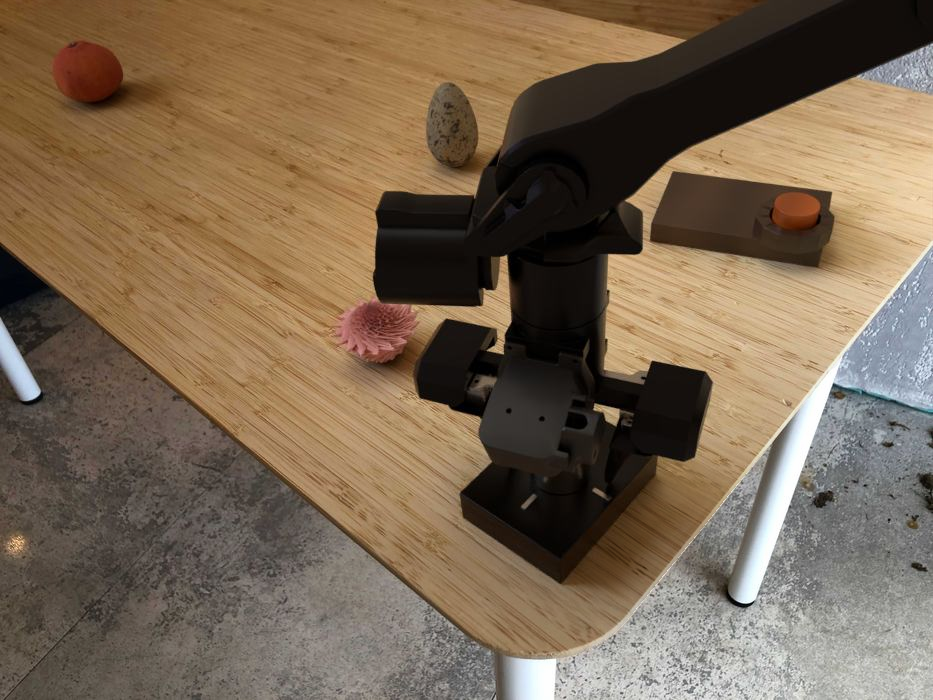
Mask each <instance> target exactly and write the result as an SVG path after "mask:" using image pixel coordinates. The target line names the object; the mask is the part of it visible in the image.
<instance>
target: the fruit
mask: <svg viewBox="0 0 933 700" xmlns="http://www.w3.org/2000/svg"><path fill="white" fill-rule="evenodd" d="M121 64H122V63H120V61H119V58H117V56H116V55H115V53H113V51H112V50H110V49H109V48H107V47H106V46H104V45H101V44H98V43H95V42H91V41H86V40H80V39H79V40H73V41H71V42H70V43H68V44H66V45H65V46H64V47H62V48H61V49H60V50H59V51H58V52H57V54H56V55H55V57H54V59H53V62H52V68H51V69H52V70H51V71H52V72H51V73H52V76H53V80H54V83H55V85H56V87H57V89H58V91H60V92H61V94H63V95H64V96H66V97H67V98H69V99H72V100H74V101H77V102H81V103H93V102H95V103H96V102H100V101H103V100H105V99H108V98H109V97H111V96H112V95H114V93H115V92H116V91H117V90H118V89H119V88H120V86H121V84H122V82H123V81H124V70H123V66H122V65H121Z"/></svg>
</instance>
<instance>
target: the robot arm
mask: <svg viewBox="0 0 933 700" xmlns="http://www.w3.org/2000/svg"><path fill="white" fill-rule="evenodd" d="M931 45H933V0H765V1H762V2H760V3H759V4H757V5H755V6H753V7H751V8H748V9H747V10H745V11H743V12H741V13H739V14H737V15H734V16H733V17H731V18H729V19H727V20H725V21H722V22H721V23H718V24H717V25H715V26H713V27H711V28H709V29H706V30H704V31H702V32H700V33H699V34H696V35H694V36H692V37H690V38H688V39H687V40H684V41H682V42H680V43H678V44H676V45H674V46H672V47H670V48H668V49H666V50H664V51H662V52H660V53H657V54H654V55H650V56H647V57H644V58H641V59H637V60H632V61H631V60H630V61H616V62H597V63H593V64H589V65H587V66H583V67H580V68H576V69H573V70H570V71H567V72H564V73H561V74H557V75H554V76H551V77H547V78H544V79H542V80H538V81H536V82H535V83H533V84H531V85H530V86H529V87H528V88H526V89H524V90H523V91H522V92H521V93H519V95H518V96H517V97H516V98H515V100H514V102H513V105H512V106H511V108H510V111H509V115H508V119H507V122H506V127H505V129H504V130H505V131H504V135H503V139H502V143H501V144H500V146H499V148H498V149H497V150H496V152H495V153H494V154H493V155H492V157H491V158H490V159H489V160H488V161H487V163H486V164H485V165H484V166H483V168H482V169H481V173H480V177H479V181H478V185H477V188H476V193H475V194H427V193H426V194H423V193H414V192H410V191H405V190H404V191H403V190H385V191H384V192H382V194H381V196H380V198H379V201H378V204H377V206H376V209H375V211H374V215H375V219H376V225H377V229H376V236H375V244H374V245H375V246H374V270H373V273H372V284H373V288H374V291H375V295H376V297H377V300H379V301H380V302H381V303H382V304H402V305H411V306H439V307H465V308H466V307H467V308H468V307H469V308H476V307H484V298H485V293H484V290H485V291H496V290H497V287H498V284H499V278H500V277H499V276H500V269H501V268H500V267H501V258H503V257H506V259H507V260H506V261H507V262H506V263H507V278H508V287H509V288H508V292H509V293H508V295H509V309H510V323H509V325H508V327H507V329H506V331H505V332H504V335H503V336H504V342H503V347H502V349H503V353H499V352H495V351H490V349H491V348H493V347H495V346H496V345H497V342H498V340H499V339H498V338H499V337H498V328H494V327H491V326H485V325H481V324H476V323H472V322H466V321H462V320H457V319H453V318H452V319H451V318H447V317H446V318H445V319H443V320H442V321H441V322H440V323H439V324H438V325H437V327H436V328H435V329H434V331H433V333H432V334H431V336H430V337H429V339H428V341H427V342H426V344H425V346H424V348H423V349H422V350H421V352H420V353H419V355H418V357H417V359H416V360H415V362H414V367H413V371H412V379H413V383H414V389H415V392H416V394H417V396H418V398H419V399H420V400H424V401H429V402H432V403H437V404H439V405H440V404H441V405H444V406H448V408H449V409H450V410H451V411H453V412H456V413H461V414H466V415H468V416H469V415H470V416H473V417H476V418H477V417H478V418H479V419H480V423H479V426H478V431H477V432H478V433H477V436H478V440H479V441H480V443H481V445H482V447H483V448H484V450H485V452H486V454H487V456H488V458H489V460H490V461H491V462H493V463H495V464H497V465H500V466H503V467H511V468H515V469H519V470H523V471H526V472H530V473H534V474H536V475H538V476H542V477H554V476H556V475H558V474H559V473H560V472H561V471H562V470H563V471H567V472H568V471H569V472H571V473H574V472H575V470H576V467H577V465H578V464H580V463H584V464H588V465H593V464H594V463H595V461H596V459H597V455H598V452H599V448H600V445H601V441H602V438H603V434H604V431H605V425H606V421H607V420H606V415H605V413H604V411H599V410H595V405H599V406H603V407H607V408H613V409H617V410H619V413H618V414H619V415H618V420H617V422H616V425H615V426H616V428H615V431H614V433H613V436H612V439H611V442H610V445H609V449H610V451H609V455H608V459H607V463H606V467H605V472H604V476H605V482H606V483H611V482H612V480H613V479H614V477H615V476H616V474H617V473H618V471H619V470H620V468H621V467H622V465H623V464H624V463H625V461H626V460H627V459H628V458H629V457H630V456H631V455H632V454H633V455H637V456H641V457H646V458H649V457H652V456H654V455H656V456H658V457H661V458H664V459H669V460H672V461H677V462H682V463H685V462H688V461H691V460H693V459H695V458H696V455H697V453H698V452H697V451H698V447H699V444H700V440H701V437H702V433H703V429H704V425H705V422H706V418H707V414H708V411H709V406H710V402H711V400H712V399H711V398H712V392H713V386H714V381H713V379H712V378H711V377H710V375H709V373H708V372H707V371H706V370H702V369H701V370H700V369H696V368H691V367H686V366H681V365H677V364H671V363H667V362H662V361H657V360H651V362H650V364H649V368H648V370H637V371H635V372H634V373H633V374H627V373H624V372H623V373H622V372H617V371H613V370H609V369H608V370H607V369H605V357H606V356H607V353H608V347H609V346H608V345H609V339H608V338H606V328H607V327H606V326H607V310H608V306H609V304H610V296H611V295H610V291H611V289H608V275H609V273H608V272H609V255H619V256H638V255H640V254H641V253H642V252H643V250H644V212H643V210H641V209H640V208H638V207H637V206H635V205H634V204H633V203H631V202H629V201H627V200H628V199H630V198H632V197H633V196H634V195H636V194H637V193H638V192H639V191H640V190H641V189H642V188H643V187H644V186H645V185H646V184H647V183H648V182H649V181H650V180H651V179H652V178H653V177H654V176H655V175H656V174H657V173H658V172H659V171H660V170H662V168H663V167H664V166H665V165H666V164H667V163H669V162H670V161H671V160H673V159H674V158H676V157H678V156H679V155H681V154H683V153H684V152H686V151H688V150H690V149H691V148H693V147H695V146H697V145H700V144H702V143H704V142H707V141H709V140H712V139H714V138H716V137H718V136H721V135H724V134H725V133H728V132H730V131H732V130H735V129H737V128H739V127H742V126H744V125H746V124H749V123H751V122H754V121H756V120H758V119H760V118H763V117H765V116H768V115H770V114H772V113H774V112H776V111H779V110H781V109H785V108H787V107H788V106H790V105H793V104H795V103H797V102H800V101H802V100H805V99H807V98H809V97H811V96H814V95H816V94H818V93H821V92H823V91H825V90H828V89H830V88H833V87H835V86H837V85H840V84H841V83H844V82H847V81H849V80H852V79H853V78H856V77H859V76H861V75H862V74H865V73H868V72H870V71H873V70H874V69H877V68H879V67H882V66H884V65H886V64H889V63H890V62H894V61H895V60H898V59H900V58H902V57H905V56H907V55H909V54H912V53H914V52H917V51H919V50H921V49H923V48H926V47H928V46H931Z"/></svg>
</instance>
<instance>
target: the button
mask: <svg viewBox="0 0 933 700" xmlns="http://www.w3.org/2000/svg"><path fill="white" fill-rule="evenodd" d="M819 211H820V203H819V202H818V200H817V199H815V198H814V197H812V196H810V195H808V194H804V193H798V192H791V193H785V194H782V195H780V196H779V197H777V199H776V200H775V204H774V209H773V214H772V220H773V222H774V223H775V224H776V225H778V226H780V227H782V228H784V229H790V230H796V231H802V230H808V229H812V228H813V227H814V226H815V225H816V223H817V219H818V215H819Z"/></svg>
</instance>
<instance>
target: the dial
mask: <svg viewBox="0 0 933 700" xmlns="http://www.w3.org/2000/svg"><path fill="white" fill-rule="evenodd" d="M590 475H591V465H588V464H584V463H580V464H578V465H577V467H576V470H575V472H574V473H571V472H569V471H568V472H567V471H563V470H562V471H561V472H560V473H559V474H558V475H556V476H554V477H542V476H538V475H536V474H534V473H530V476H531V478H532V480H533V482H534V483H535V484H536V485H537V486H538V487H539V488H540V489H542V490H544V491H546V492H548V493H552V494H560V495H561V494H569V493H573V492H575V491H577V490H579V489H581V488H582V487H583V486H584V485H585V484H586V483H587V482H588V480H589V478H590Z"/></svg>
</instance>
